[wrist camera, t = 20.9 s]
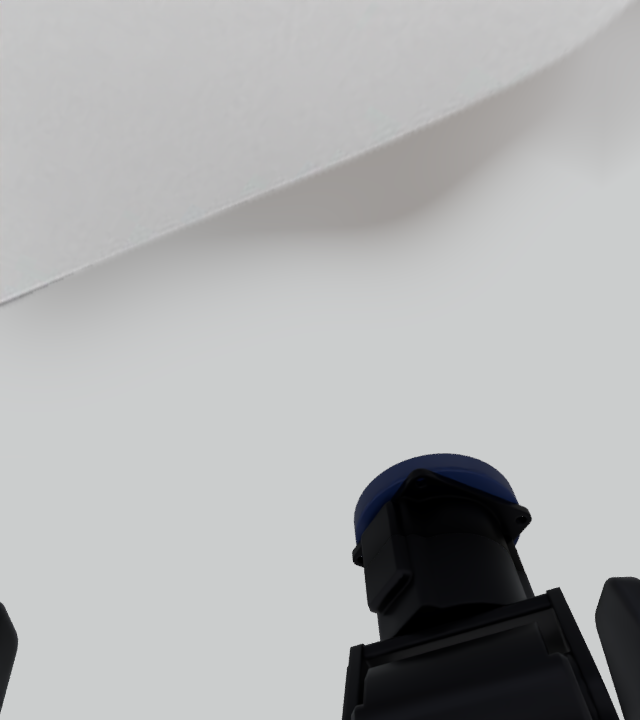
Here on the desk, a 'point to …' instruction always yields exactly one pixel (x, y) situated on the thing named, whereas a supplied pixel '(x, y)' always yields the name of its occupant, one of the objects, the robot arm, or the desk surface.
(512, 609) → the robot arm
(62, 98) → the desk surface
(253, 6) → the desk surface
